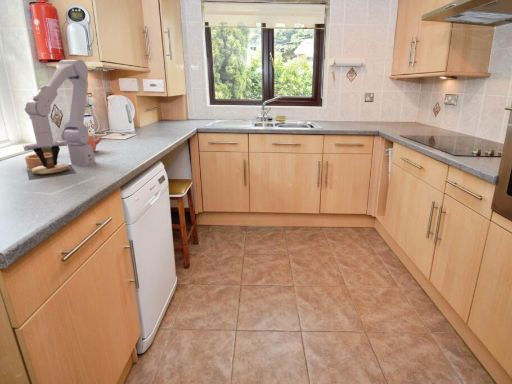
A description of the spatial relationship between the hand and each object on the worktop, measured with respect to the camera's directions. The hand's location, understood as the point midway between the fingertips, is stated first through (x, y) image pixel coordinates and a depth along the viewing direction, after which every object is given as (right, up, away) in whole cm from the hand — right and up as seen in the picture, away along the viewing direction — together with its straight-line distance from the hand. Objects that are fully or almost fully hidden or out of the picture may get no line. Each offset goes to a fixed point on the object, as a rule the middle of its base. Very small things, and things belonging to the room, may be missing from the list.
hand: (50, 165), depth 132 cm
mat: (0, -3, +1) cm, 3 cm away
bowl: (-10, +1, +11) cm, 15 cm away
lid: (0, -1, +1) cm, 2 cm away
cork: (-21, +7, +30) cm, 38 cm away
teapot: (-5, +10, +37) cm, 39 cm away
